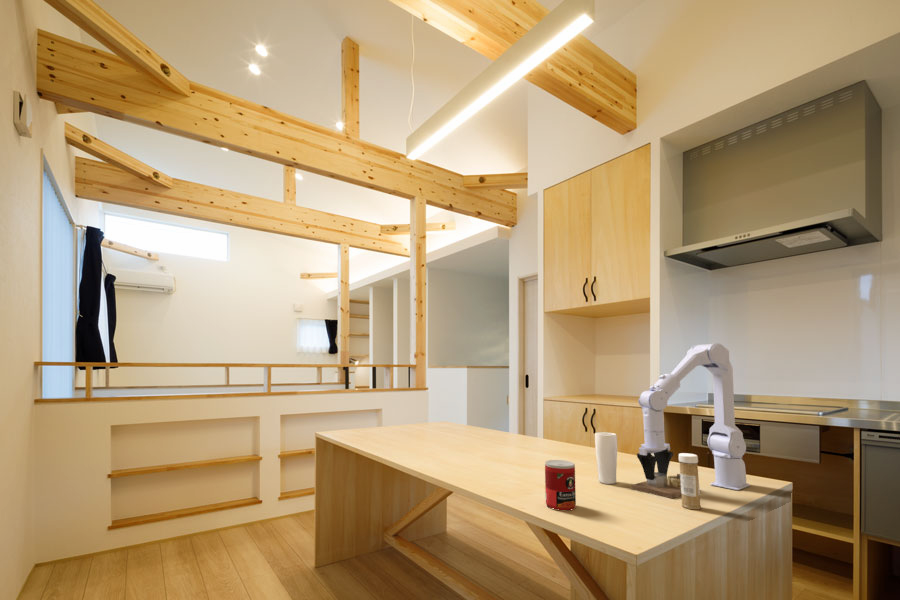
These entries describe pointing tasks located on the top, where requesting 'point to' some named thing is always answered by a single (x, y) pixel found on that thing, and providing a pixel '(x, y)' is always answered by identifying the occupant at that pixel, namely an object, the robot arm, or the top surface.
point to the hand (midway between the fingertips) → (656, 477)
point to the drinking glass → (606, 456)
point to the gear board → (669, 492)
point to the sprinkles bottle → (689, 481)
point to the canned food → (560, 484)
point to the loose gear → (658, 480)
